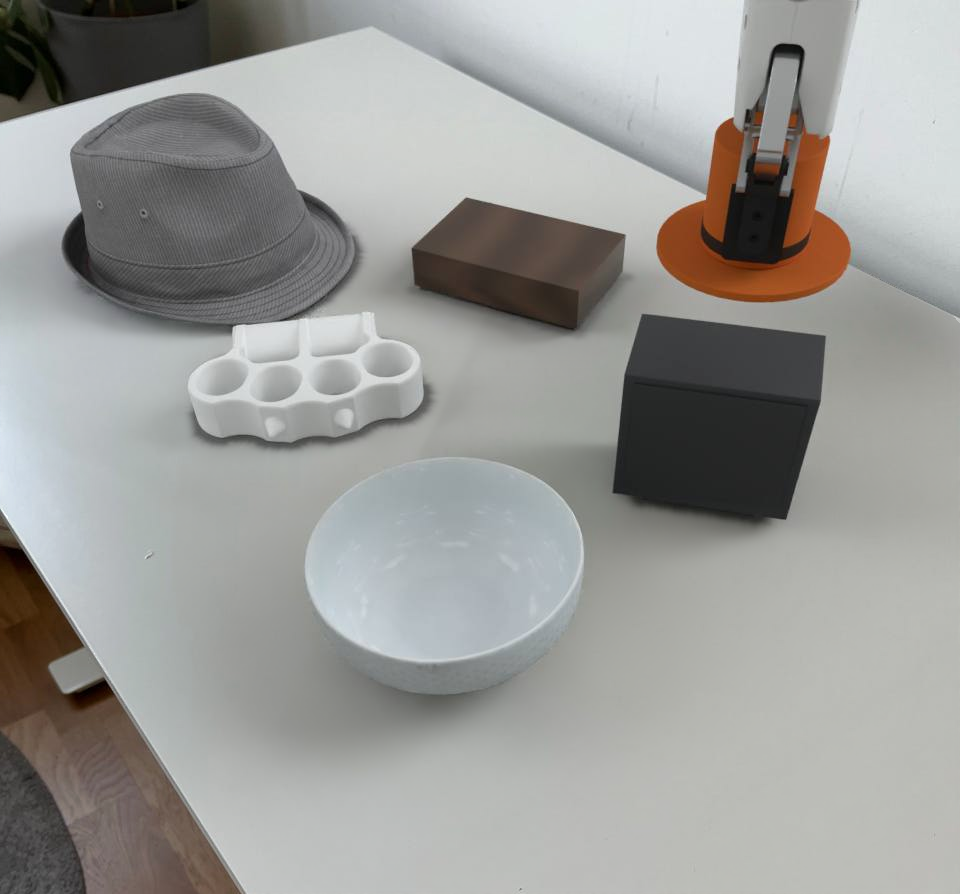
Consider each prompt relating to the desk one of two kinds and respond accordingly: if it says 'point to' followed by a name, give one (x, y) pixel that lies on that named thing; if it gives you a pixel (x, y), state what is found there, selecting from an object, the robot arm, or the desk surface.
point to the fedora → (198, 217)
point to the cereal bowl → (445, 573)
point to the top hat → (807, 245)
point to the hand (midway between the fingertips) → (756, 224)
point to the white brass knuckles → (306, 380)
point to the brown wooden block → (519, 262)
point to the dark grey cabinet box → (717, 414)
